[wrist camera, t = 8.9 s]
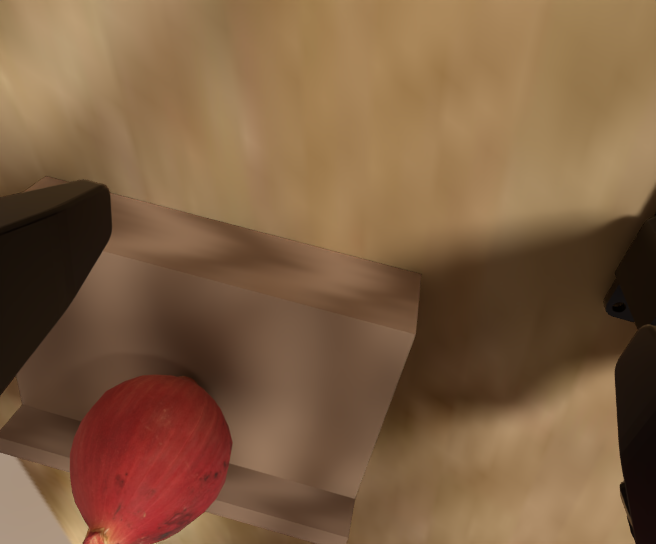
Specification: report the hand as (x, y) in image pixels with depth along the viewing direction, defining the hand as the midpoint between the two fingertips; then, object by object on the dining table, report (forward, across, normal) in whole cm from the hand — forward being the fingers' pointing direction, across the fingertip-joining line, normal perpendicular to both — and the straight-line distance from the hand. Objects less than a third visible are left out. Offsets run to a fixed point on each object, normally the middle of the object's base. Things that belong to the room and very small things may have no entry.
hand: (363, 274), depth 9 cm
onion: (+9, +6, +14) cm, 17 cm away
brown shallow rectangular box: (+12, +6, +14) cm, 20 cm away
